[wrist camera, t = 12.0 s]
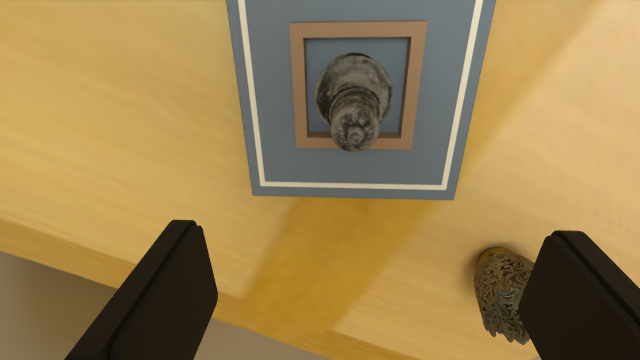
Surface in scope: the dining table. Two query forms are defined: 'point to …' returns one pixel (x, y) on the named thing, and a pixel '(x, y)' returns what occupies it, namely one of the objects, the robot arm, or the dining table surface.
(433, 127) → the board
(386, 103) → the dark grey chess piece
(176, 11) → the dining table surface
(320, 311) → the dining table surface
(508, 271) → the cup
